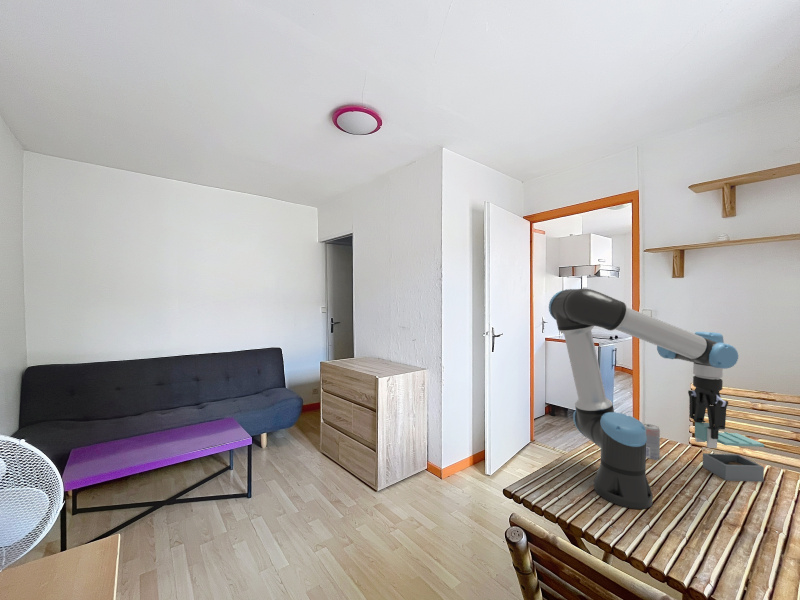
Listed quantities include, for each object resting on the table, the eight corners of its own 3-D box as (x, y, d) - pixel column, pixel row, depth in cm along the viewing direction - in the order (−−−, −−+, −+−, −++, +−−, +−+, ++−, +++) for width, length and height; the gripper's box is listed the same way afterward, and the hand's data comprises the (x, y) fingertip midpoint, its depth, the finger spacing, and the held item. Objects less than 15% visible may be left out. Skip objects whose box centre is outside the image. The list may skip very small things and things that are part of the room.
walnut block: (738, 475, 116) (738, 466, 116) (728, 471, 119) (728, 462, 119) (745, 474, 116) (745, 465, 116) (734, 470, 119) (735, 461, 119)
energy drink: (653, 454, 132) (653, 424, 132) (662, 461, 127) (663, 429, 127) (639, 454, 132) (639, 423, 132) (647, 460, 127) (647, 428, 127)
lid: (711, 446, 112) (711, 429, 112) (688, 435, 122) (688, 419, 122) (764, 448, 112) (764, 431, 112) (737, 437, 121) (737, 421, 121)
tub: (725, 482, 112) (725, 465, 112) (702, 468, 121) (702, 453, 121) (763, 483, 112) (763, 466, 112) (737, 469, 121) (737, 454, 121)
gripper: (742, 383, 108) (740, 456, 108) (698, 371, 125) (696, 435, 125) (718, 382, 109) (716, 455, 109) (677, 371, 126) (675, 434, 126)
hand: (705, 444), depth 117 cm, fingers closed on lid, 4 cm apart
